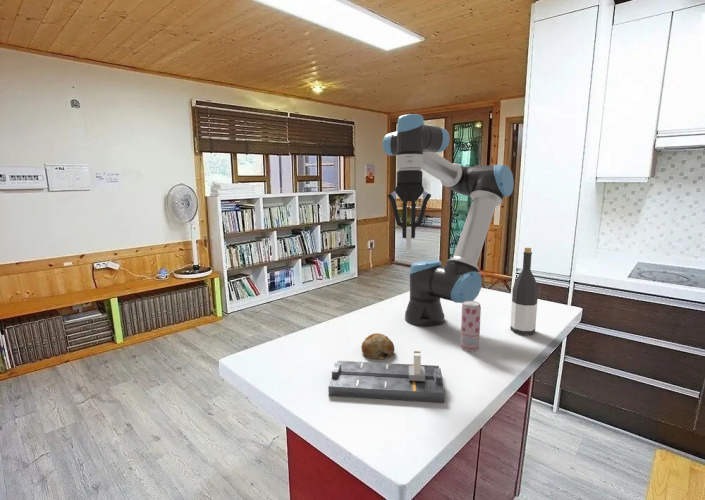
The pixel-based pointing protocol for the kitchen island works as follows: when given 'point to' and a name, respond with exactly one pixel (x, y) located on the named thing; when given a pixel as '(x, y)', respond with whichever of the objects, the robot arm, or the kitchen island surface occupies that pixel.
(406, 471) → the kitchen island surface
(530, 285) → the wine bottle
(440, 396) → the console
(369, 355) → the bread roll
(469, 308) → the beverage can
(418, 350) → the fader
